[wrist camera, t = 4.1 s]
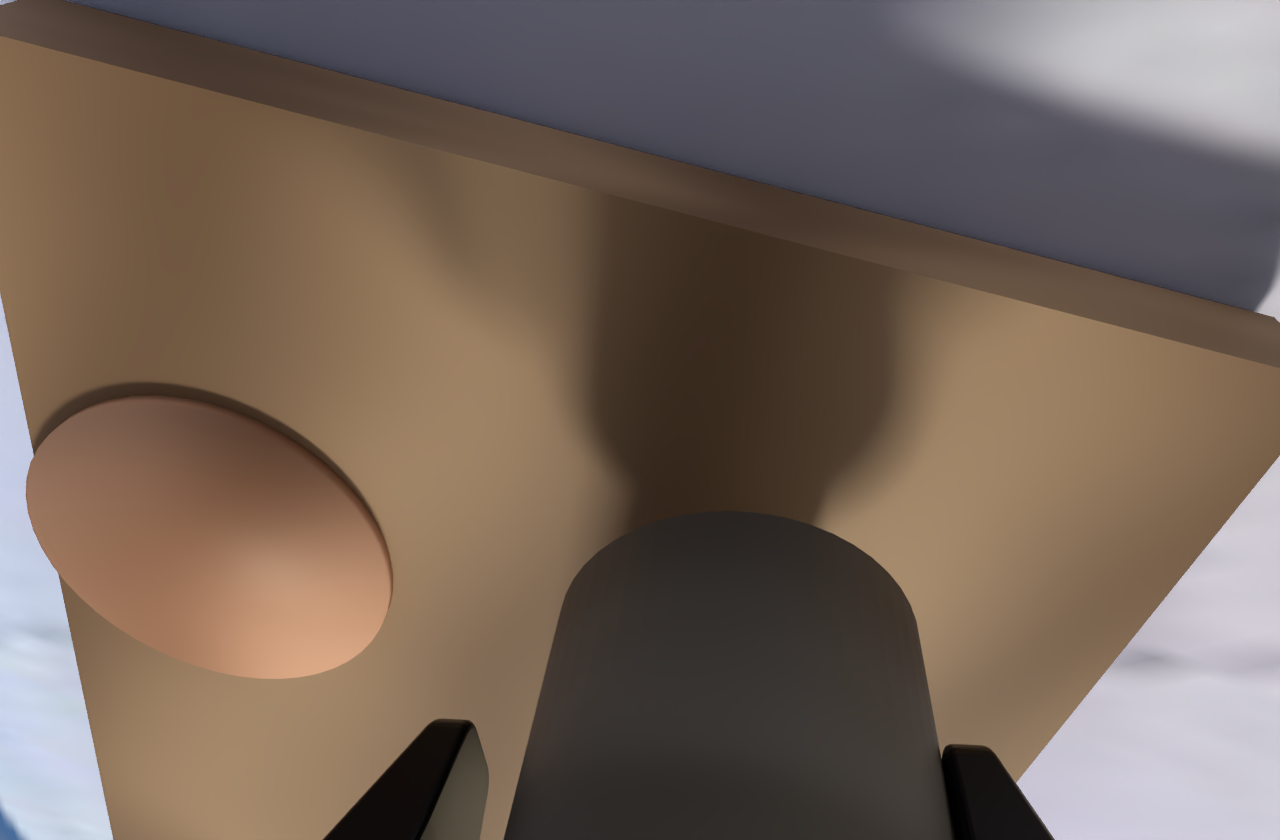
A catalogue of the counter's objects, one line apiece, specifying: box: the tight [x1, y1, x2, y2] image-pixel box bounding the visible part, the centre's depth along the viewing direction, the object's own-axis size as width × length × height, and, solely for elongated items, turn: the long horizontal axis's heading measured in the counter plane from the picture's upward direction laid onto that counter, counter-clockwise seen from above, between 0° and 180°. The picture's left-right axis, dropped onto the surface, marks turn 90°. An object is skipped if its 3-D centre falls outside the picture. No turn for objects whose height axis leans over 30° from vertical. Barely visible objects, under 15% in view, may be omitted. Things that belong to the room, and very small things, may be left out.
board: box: [0, 0, 1280, 840], centre depth 16 cm, size 15×20×2 cm
